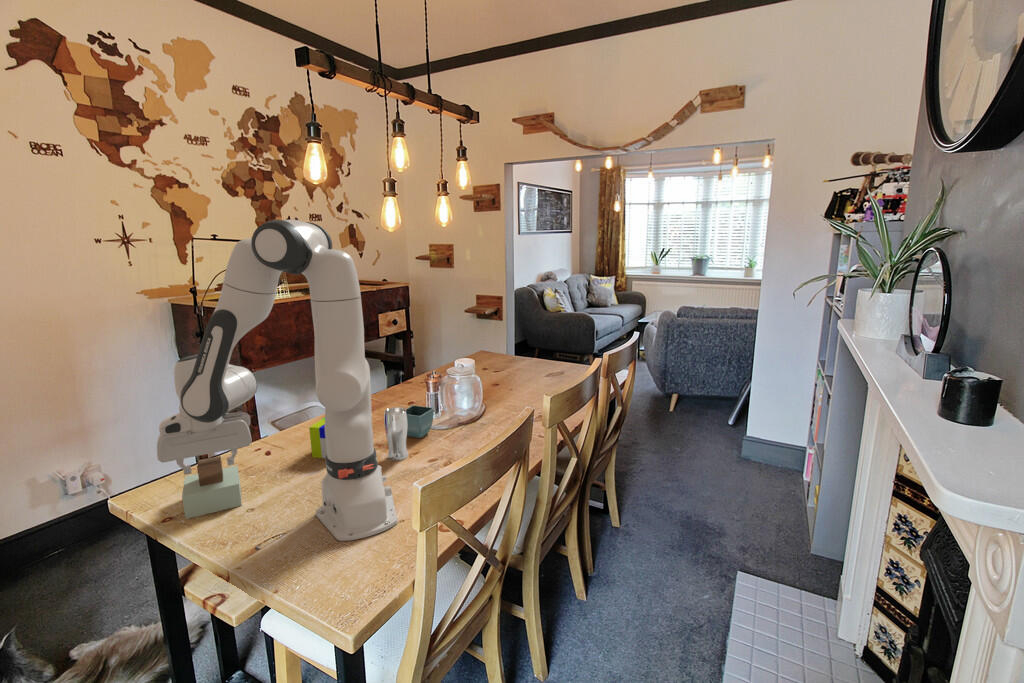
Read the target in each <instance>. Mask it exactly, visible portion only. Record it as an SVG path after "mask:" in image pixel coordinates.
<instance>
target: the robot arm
mask: <svg viewBox="0 0 1024 683" xmlns="http://www.w3.org/2000/svg"><path fill="white" fill-rule="evenodd" d="M283 272H285V273H288V274H291V275H295V276H298V275H300V274H302V275H303V276H304V277H305V279H306V280H307V284H308V287H309V297H310V306H311V315H312V324H313V332H314V374H315V375H314V376H315V392H316V397H317V399H318V402H319V403H320V405H322V406H323V407H324V418H325V437H326V448H327V455H326V458H325V468H326V475H325V476H324V477H323V479H322V480H321V481H320V484H321V486H320V487H321V500H322V502H321V503H322V504H321V506H319V507H318V508H317V509H316V510H315V517H317V518H318V520H320V522H321V523H322V524H323V525H324V526H325V528H326V529H327V530H328V531H329V532H330V533H331V534H332V535H333V537H334V538H335V539H336V540H337V541H341V542H342V541H343V542H344V541H347V542H348V541H355V540H359V539H363V538H368V537H370V536H374V535H377V534H379V533H382V532H385V531H387V530H389V529H392V527H394V526H395V525H397V524H398V517H397V511H396V507H395V501H394V496H393V493H392V487H391V485H388V486H385V485H384V482H387V475H383V471H382V466H381V465H379V464H378V455H377V451H376V448H375V447H374V446H375V445H374V432H373V420H372V418H373V416H372V413H373V412H372V411H373V410H372V386H371V369H370V368H371V367H370V364H369V361H368V360H367V359H366V354H365V350H366V349H365V327H364V326H365V325H364V315H363V314H364V312H363V306H362V295H361V287H360V282H359V276H358V272H357V268H356V266H355V261H354V260H353V258H352V256H351V255H350V254H349V253H347V252H346V251H343V250H339V249H334V248H333V241H332V238H331V235H330V234H329V233H328V231H327V230H326V229H325V228H324V227H322V226H320V225H318V224H316V223H314V222H308V221H301V220H298V219H272V220H268V221H266V222H264V223H262V224H260V225H259V226H258V227H257V228H256V229H255V230H254V231H253V233H252V236H251V237H250V238H244V239H241V240H239V241H237V243H236V244H235V245H234V247H233V250H232V252H231V254H230V257H229V259H228V262H227V266H226V268H225V273H224V277H223V282H222V288H221V291H220V296H218V297H219V298H218V301H217V304H216V306H215V309H214V311H213V312H212V315H211V316H210V318H209V321H208V322H207V326H206V327H205V330H204V333H203V337H202V340H201V343H200V346H199V349H198V353H196V354H193V355H189V356H185V357H183V358H181V359H178V360H177V361H176V362H175V365H174V368H173V369H174V371H173V374H174V376H173V377H174V387H175V388H174V389H175V392H176V396H177V397H178V401H179V405H178V410H179V412H177V413H176V414H173V415H170V416H169V417H166V418H164V419H163V420H161V422H160V424H159V426H158V428H159V429H158V430H159V435H158V438H157V442H156V458H157V461H159V462H161V463H168V462H173V461H176V465H177V466H178V467H179V468H181V469H182V470H183V475H184V476H188V475H192V467H191V466H192V465H191V464H186V463H185V459H188V458H189V459H190V458H193V457H194V458H195V457H199V456H205V455H210V454H214V453H219V452H224V451H229V450H230V452H231V455H230V456H229V457H226V462H227V466H228V467H231V466H235V457H236V455H237V454H238V449H240V448H245V447H249V446H250V445H251V443H252V435H251V430H250V425H251V421H252V420H251V416H250V415H249V414H248V413H247V412H243V411H237V412H231V411H232V410H234V409H236V408H238V407H239V406H241V405H243V404H245V403H247V401H250V400H251V399H252V398H253V397H254V396H255V395H256V393H257V390H258V381H257V378H256V376H255V374H254V372H252V370H250V369H249V368H246V366H242V365H234V364H230V361H231V357H232V355H233V354H232V353H233V351H234V348H235V347H236V345H237V344H238V342H239V341H240V340H241V339H242V338H243V337H244V336H245V335H246V334H247V333H249V332H250V331H251V330H252V329H254V328H256V327H258V325H260V324H262V322H264V321H265V320H266V319H267V318H268V317H269V315H270V313H271V311H272V309H273V306H274V303H275V300H276V295H277V290H278V285H279V280H280V276H281V275H282V273H283ZM228 412H231V413H228Z"/></svg>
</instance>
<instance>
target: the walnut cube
mask: <svg viewBox="0 0 1024 683" xmlns="http://www.w3.org/2000/svg"><path fill="white" fill-rule="evenodd" d="M222 468H223V462H222V456H221V455H218V456H213V457H208V458H203V459H199V460H197V466H196V469H197V474H198V477H199V483H200V486H205V485H209V484H214V483H218V482H223V469H222Z"/></svg>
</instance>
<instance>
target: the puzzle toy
mask: <svg viewBox="0 0 1024 683" xmlns="http://www.w3.org/2000/svg"><path fill="white" fill-rule="evenodd" d="M308 428H309V438H310V439H309V440H310V447H311V457H312V458H318V459H326V455H327V448H326V437H325V417H323V418H321V419H320V420H318V421H317V422H315V423H314V424H312V425H311V426H309V427H308Z"/></svg>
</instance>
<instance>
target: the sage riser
mask: <svg viewBox="0 0 1024 683" xmlns="http://www.w3.org/2000/svg"><path fill="white" fill-rule="evenodd" d="M222 469H223V482H218V483H214V484H209V485H205V486H200V483H199V477H198V473H195V474H188V475H184V480H183V481H184V482H183V488H182V492H181V493H182V494H181V498H182V505H183V509H184V510H183V512H184V517H185V520H188V519H192V518H196V517H201V516H204V515H208V514H209V515H210V514H212V513H216V512H221V511H225V510H228V509H233V508H237V507H240V506H243V505H242V490H241V481H240V474H239V467H238V465H237V464H236V465H231V466H228V467H222Z"/></svg>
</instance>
